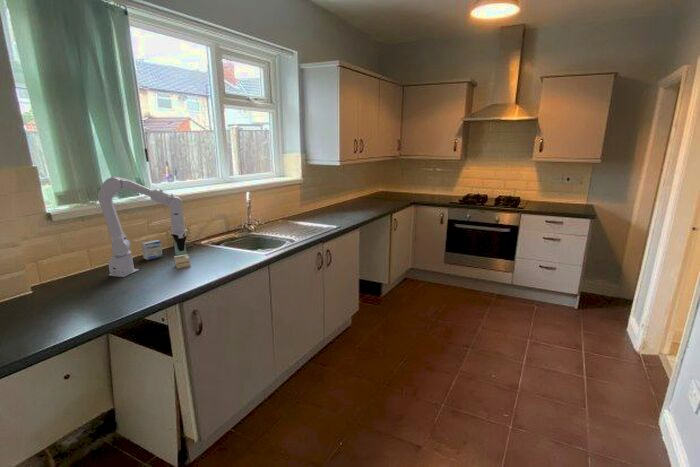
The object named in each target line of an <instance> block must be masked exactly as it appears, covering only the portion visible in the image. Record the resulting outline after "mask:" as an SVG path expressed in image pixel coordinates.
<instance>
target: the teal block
mask: <svg viewBox="0 0 700 467" xmlns="http://www.w3.org/2000/svg"><path fill="white" fill-rule="evenodd" d="M173 244H174V253H175V256H179V255H186V254H187V255H188V253H187V245H186V242H185V246H184V251H179V249H178V246H177V243H176V242H175V241H173Z"/></svg>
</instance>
